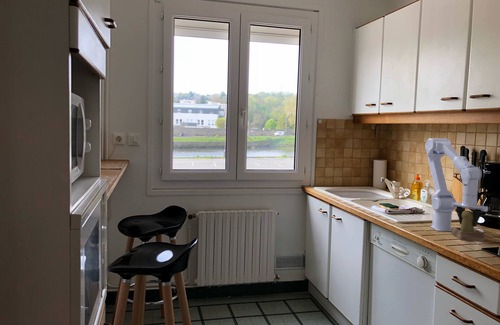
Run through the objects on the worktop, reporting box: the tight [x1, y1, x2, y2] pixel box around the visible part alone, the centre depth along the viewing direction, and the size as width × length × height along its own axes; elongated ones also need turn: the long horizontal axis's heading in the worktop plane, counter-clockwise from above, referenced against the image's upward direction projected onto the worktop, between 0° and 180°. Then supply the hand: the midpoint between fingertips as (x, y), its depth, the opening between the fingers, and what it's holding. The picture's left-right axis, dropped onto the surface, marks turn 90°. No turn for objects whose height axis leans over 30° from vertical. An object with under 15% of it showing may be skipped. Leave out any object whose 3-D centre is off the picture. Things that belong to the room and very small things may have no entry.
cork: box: [460, 210, 474, 232], centre depth 188 cm, size 6×6×11 cm
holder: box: [451, 226, 485, 242], centre depth 189 cm, size 10×10×4 cm
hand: (468, 225), depth 189 cm, fingers open, 5 cm apart
